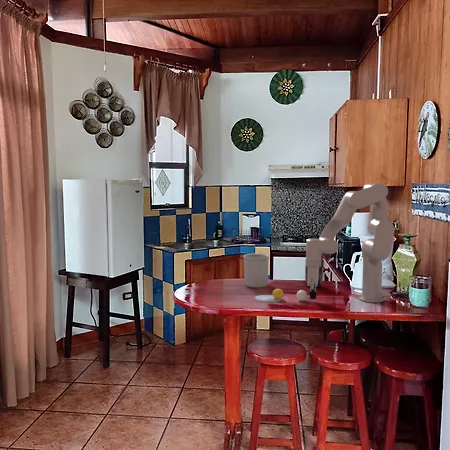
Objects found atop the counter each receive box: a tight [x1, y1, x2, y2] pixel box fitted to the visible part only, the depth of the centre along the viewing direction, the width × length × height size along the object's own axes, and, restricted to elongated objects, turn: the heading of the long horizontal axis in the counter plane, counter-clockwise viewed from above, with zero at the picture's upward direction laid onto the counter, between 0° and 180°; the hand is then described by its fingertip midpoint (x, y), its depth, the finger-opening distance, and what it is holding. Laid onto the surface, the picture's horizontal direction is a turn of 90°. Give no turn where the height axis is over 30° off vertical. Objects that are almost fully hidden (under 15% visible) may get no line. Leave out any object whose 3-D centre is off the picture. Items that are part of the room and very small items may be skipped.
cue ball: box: [296, 289, 308, 302], centre depth 231 cm, size 6×6×6 cm
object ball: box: [272, 288, 284, 299], centre depth 234 cm, size 6×6×6 cm
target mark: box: [254, 294, 283, 303], centre depth 235 cm, size 14×14×1 cm
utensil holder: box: [243, 253, 270, 288], centre depth 265 cm, size 15×15×18 cm
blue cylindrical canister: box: [304, 257, 323, 288], centre depth 261 cm, size 10×10×18 cm
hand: (313, 298), depth 229 cm, fingers closed
